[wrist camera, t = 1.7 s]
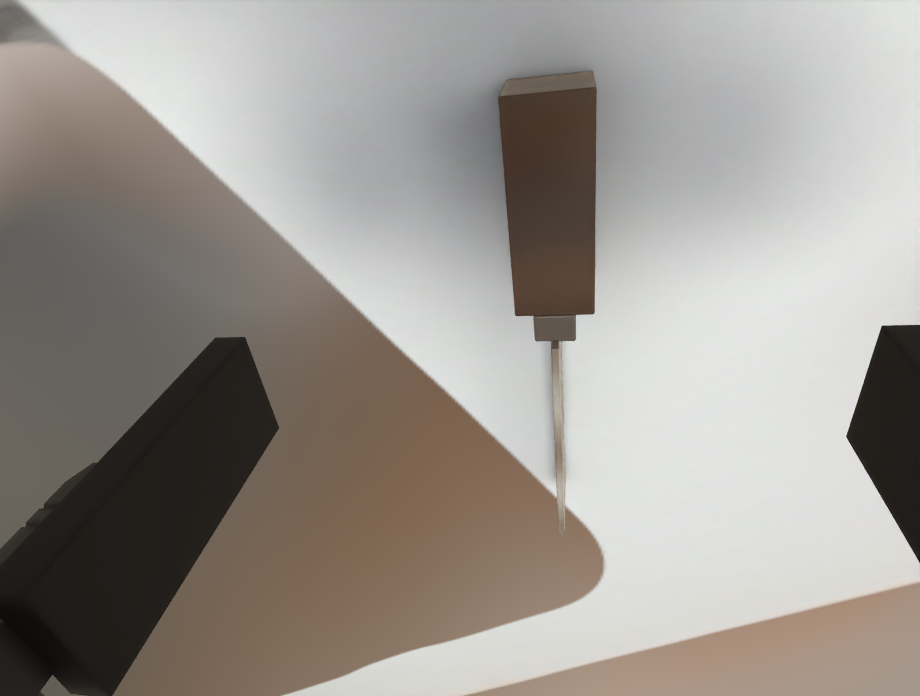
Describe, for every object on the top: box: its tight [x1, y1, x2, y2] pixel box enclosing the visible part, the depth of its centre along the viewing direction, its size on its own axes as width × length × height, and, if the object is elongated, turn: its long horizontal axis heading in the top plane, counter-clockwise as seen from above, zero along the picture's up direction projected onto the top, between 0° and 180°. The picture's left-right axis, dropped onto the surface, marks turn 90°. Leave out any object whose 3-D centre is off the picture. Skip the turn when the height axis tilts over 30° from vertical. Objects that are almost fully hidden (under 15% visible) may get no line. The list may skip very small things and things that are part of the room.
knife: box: [498, 71, 596, 534], centre depth 24 cm, size 20×3×4 cm, turn 7°
